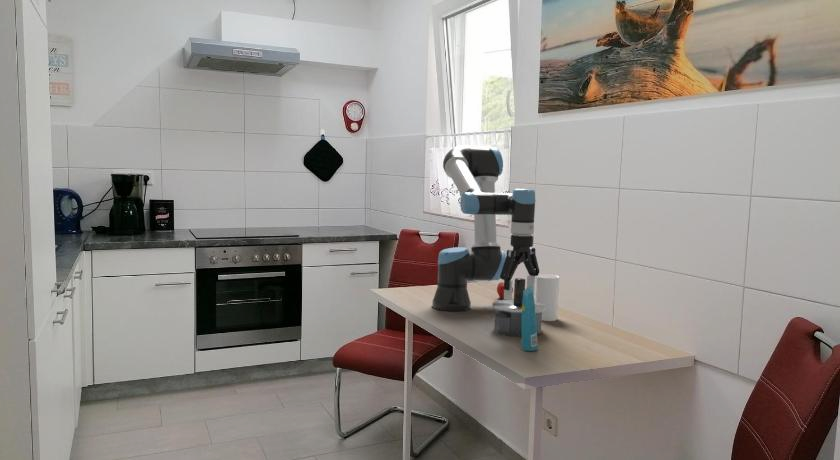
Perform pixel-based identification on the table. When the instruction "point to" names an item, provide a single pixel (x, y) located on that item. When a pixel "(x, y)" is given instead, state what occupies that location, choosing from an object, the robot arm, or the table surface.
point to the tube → (529, 321)
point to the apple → (501, 290)
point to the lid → (516, 300)
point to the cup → (548, 295)
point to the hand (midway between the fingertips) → (519, 296)
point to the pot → (513, 323)
